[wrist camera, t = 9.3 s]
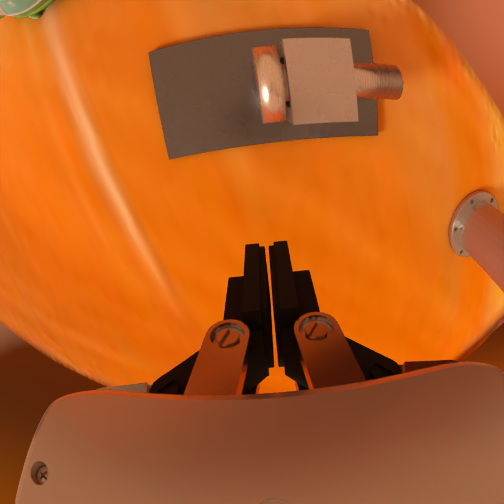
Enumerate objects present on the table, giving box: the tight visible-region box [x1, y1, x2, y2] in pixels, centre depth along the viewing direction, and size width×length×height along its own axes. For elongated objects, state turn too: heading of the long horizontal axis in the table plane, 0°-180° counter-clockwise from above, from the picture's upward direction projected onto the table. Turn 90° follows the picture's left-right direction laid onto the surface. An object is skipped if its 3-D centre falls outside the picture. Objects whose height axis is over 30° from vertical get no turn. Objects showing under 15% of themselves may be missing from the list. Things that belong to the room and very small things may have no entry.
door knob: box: [252, 45, 403, 124], centre depth 24 cm, size 14×8×8 cm, turn 98°
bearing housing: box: [148, 27, 378, 159], centre depth 25 cm, size 26×14×10 cm, turn 98°
